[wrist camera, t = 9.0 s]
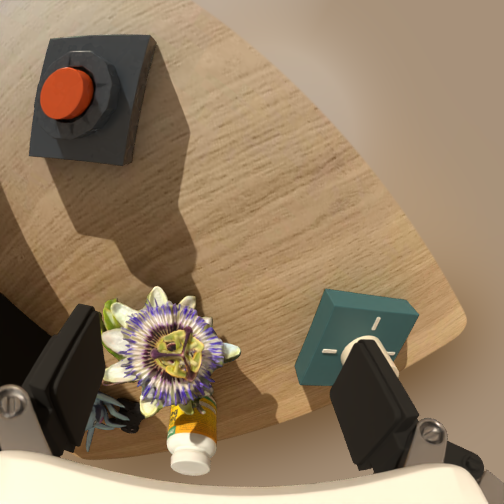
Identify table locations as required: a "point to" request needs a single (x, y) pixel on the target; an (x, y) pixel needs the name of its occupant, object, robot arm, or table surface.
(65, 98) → the button
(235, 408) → the table surface
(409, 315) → the dial panel
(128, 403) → the figurine
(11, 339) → the electronic device
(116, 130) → the housing
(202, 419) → the supplement bottle
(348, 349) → the program dial
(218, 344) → the passion flower
